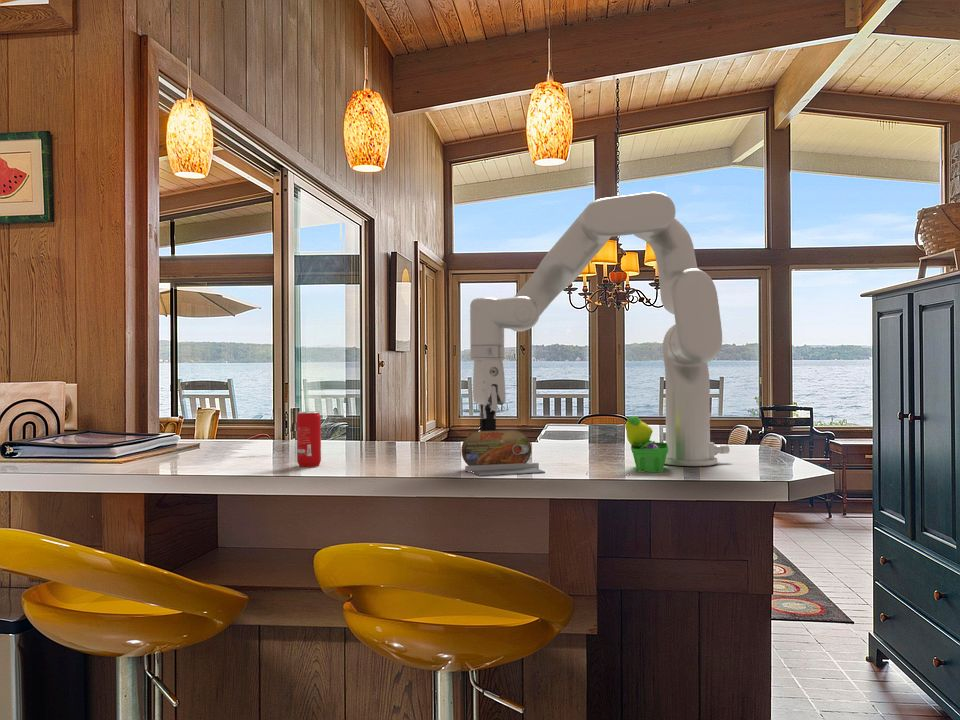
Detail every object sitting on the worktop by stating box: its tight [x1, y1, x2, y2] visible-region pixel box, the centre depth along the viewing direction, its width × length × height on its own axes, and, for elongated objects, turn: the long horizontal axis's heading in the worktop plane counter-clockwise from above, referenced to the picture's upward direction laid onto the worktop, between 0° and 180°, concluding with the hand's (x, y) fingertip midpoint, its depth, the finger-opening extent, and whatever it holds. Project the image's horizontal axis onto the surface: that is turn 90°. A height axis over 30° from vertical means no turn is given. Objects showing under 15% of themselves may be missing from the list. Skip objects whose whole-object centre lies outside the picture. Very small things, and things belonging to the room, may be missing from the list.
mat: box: [464, 462, 546, 476], centre depth 160 cm, size 16×7×1 cm, turn 107°
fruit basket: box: [624, 415, 669, 473], centre depth 164 cm, size 11×9×11 cm
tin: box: [461, 429, 532, 466], centre depth 165 cm, size 15×3×8 cm, turn 101°
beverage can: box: [296, 410, 322, 468], centre depth 172 cm, size 5×5×12 cm
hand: (487, 436), depth 171 cm, fingers closed
